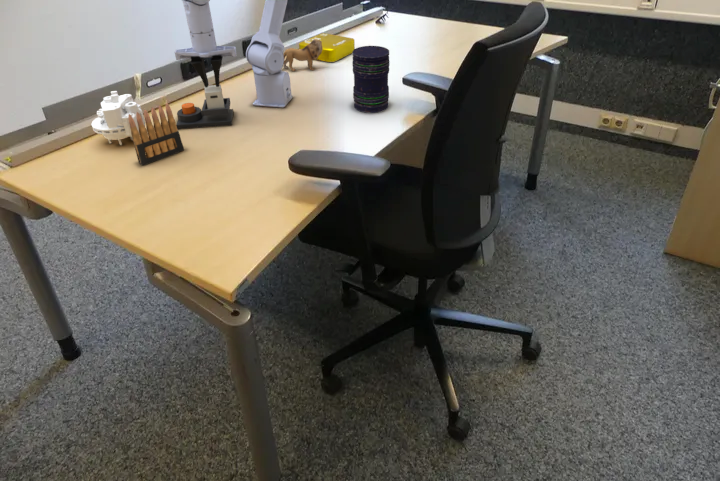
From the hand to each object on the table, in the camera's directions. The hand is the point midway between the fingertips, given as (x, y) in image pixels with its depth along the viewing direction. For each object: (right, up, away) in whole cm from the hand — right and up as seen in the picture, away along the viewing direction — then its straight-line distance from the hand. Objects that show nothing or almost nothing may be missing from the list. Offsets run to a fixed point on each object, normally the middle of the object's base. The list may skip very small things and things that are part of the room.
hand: (212, 85), depth 132 cm
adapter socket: (0, -5, +4) cm, 6 cm away
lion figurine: (+19, +17, +37) cm, 45 cm away
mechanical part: (-21, -15, -3) cm, 26 cm away
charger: (0, -5, +4) cm, 6 cm away
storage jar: (+41, -2, +12) cm, 43 cm away
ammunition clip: (-9, -20, -10) cm, 24 cm away
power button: (-7, -6, +3) cm, 10 cm away
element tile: (+26, +26, +48) cm, 61 cm away
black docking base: (-3, -8, +5) cm, 10 cm away
